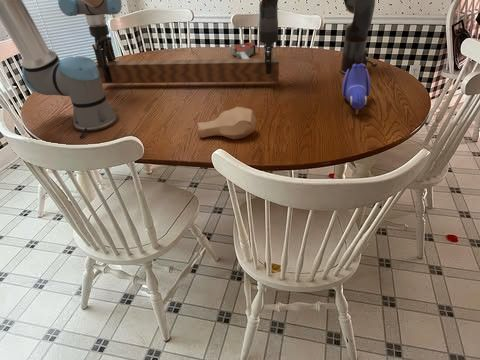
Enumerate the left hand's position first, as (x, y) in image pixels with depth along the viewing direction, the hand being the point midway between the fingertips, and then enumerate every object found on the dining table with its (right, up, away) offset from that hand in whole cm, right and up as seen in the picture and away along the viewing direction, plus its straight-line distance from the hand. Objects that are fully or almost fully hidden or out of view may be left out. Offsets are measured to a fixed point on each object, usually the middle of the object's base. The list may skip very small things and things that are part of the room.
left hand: (111, 80), depth 160 cm
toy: (+101, -18, -27) cm, 106 cm away
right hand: (+70, +1, -10) cm, 71 cm away
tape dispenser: (+60, +19, +27) cm, 68 cm away
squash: (+54, -30, -40) cm, 73 cm away
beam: (+35, -1, -4) cm, 35 cm away
